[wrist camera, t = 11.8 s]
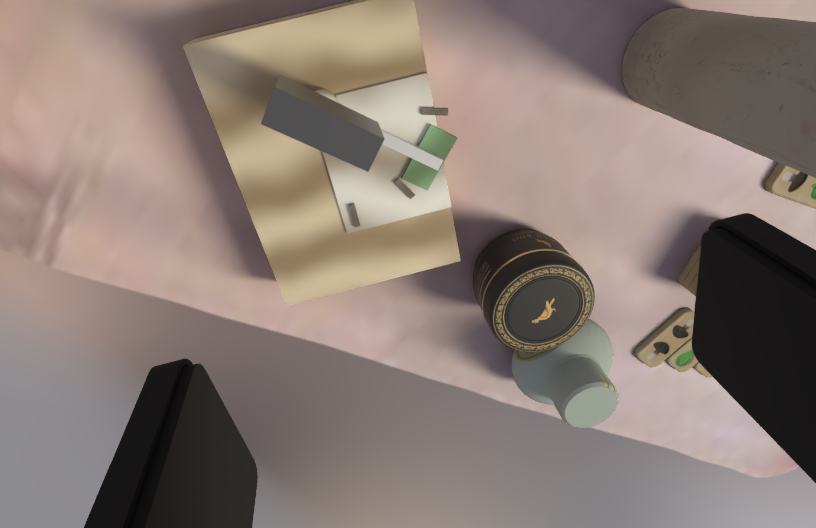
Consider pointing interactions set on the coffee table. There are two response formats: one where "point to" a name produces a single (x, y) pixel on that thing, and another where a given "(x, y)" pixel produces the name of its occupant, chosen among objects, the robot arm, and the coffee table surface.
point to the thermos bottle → (731, 79)
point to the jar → (532, 291)
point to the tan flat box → (320, 172)
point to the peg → (334, 126)
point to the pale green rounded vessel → (571, 377)
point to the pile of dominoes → (677, 331)
